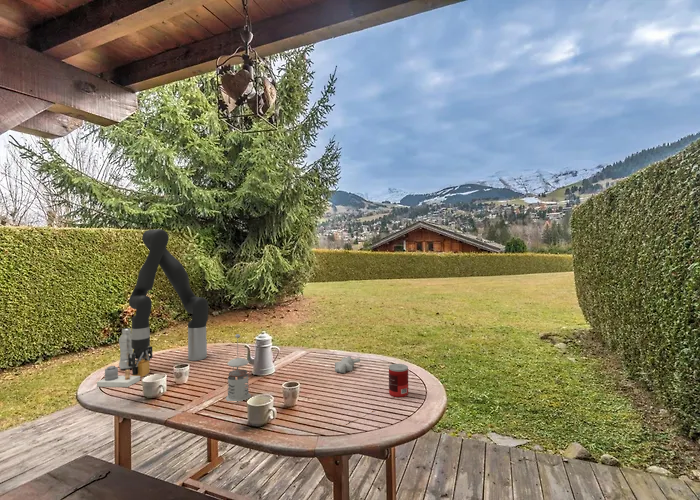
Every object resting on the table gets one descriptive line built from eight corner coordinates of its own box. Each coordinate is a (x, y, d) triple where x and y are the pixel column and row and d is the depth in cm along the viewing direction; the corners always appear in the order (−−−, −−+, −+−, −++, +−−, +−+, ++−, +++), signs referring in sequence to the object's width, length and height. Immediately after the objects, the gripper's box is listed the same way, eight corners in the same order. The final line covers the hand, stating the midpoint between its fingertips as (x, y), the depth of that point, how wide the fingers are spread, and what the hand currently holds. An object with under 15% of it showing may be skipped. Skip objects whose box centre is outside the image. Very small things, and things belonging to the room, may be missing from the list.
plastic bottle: (137, 366, 178) (137, 327, 178) (128, 371, 171) (127, 330, 171) (125, 366, 178) (125, 327, 178) (115, 370, 172) (115, 330, 172)
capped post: (110, 376, 158) (110, 365, 158) (120, 376, 157) (120, 365, 157) (102, 380, 153) (102, 368, 153) (112, 380, 153) (112, 368, 153)
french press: (227, 404, 132) (226, 338, 132) (222, 393, 143) (222, 332, 143) (253, 399, 137) (252, 335, 137) (247, 388, 147) (246, 329, 147)
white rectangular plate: (110, 379, 160) (110, 375, 160) (140, 380, 158) (140, 375, 158) (96, 386, 152) (96, 381, 152) (127, 387, 150) (127, 382, 150)
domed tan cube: (139, 372, 168) (139, 358, 168) (149, 372, 168) (149, 358, 168) (132, 376, 163) (132, 361, 163) (142, 376, 163) (142, 361, 163)
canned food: (409, 391, 142) (409, 364, 143) (406, 399, 135) (406, 370, 135) (391, 389, 145) (391, 362, 145) (387, 396, 137) (386, 368, 137)
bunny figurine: (329, 363, 166) (345, 352, 179) (330, 374, 167) (346, 361, 180) (346, 367, 162) (362, 354, 174) (347, 377, 162) (362, 364, 175)
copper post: (127, 378, 156) (127, 369, 156) (130, 378, 156) (130, 369, 156) (124, 379, 154) (124, 370, 154) (128, 379, 154) (127, 370, 154)
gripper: (137, 341, 158) (138, 377, 158) (157, 333, 173) (158, 367, 173) (122, 340, 159) (122, 377, 159) (143, 333, 173) (143, 366, 173)
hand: (141, 371), depth 166 cm, fingers open, 7 cm apart
